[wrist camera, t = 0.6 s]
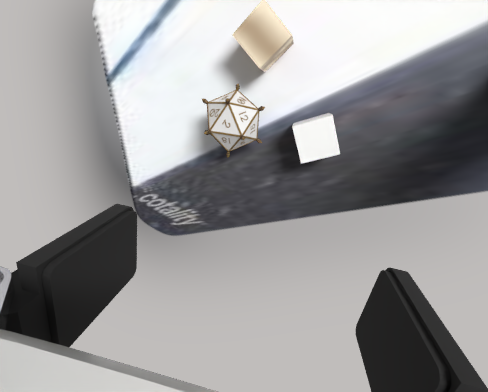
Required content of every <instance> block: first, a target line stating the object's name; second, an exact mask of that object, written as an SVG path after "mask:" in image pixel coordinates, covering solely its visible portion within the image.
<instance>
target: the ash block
mask: <svg viewBox="0 0 488 392" xmlns="http://www.w3.org/2000/svg"><path fill="white" fill-rule="evenodd" d="M233 36H234V38H235V39H236V40H237V41H238V43H239V44H240V45H241V46H242V48H243V49H244V50H245V51H246V53H247V54H248V55H249V56H250V57H251V59H252V60H253V61H254V62H255V64H256V65H257V66H258V67H259V69H261V70H262V71H264V72H266V71H267V70H268V69H269V68H270V67H271V66H272V65H273V64H274V63H275V62H276V61H277V60H278V59H279V58H280V57H281V56H282V55H283V54H284V53H285V52H286V51H287V50H288V49H289V48H290V46H291V45H292V44H293V37H292V34H291V33H290V32H289V30H288V29H287V28H286V27H285V25H284V24H283V23H282V21H281V20H280V19H279V18H278V16H277V15H276V14H275V12H274V11H273V10H272V8H271V7H270V6H269V5H268V3H267V2H266V1H265V0H262V1H261V2H260V3H259V4H258V6H257V7H256V8H255V9H254V10H253V11H252V13H251V14H250V15H249V16H248V17H247V18H246V20H245V21H244V22H243V23H242V24H241V25H240V27H239V28H238V29H237V30H236V31H235V32H234V34H233Z"/></svg>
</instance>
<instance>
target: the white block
mask: <svg viewBox="0 0 488 392" xmlns="http://www.w3.org/2000/svg"><path fill="white" fill-rule="evenodd" d="M292 128H293V132H294V136H295V140H296V144H297V149H298V153H299V157H300V161H301V164H302V163H306V162H310V161H314V160H318V159H322V158H327V157H331V156H335V155H339V154H340V151H339V146H338V140H337V135H336V130H335V125H334V120H333V115H332V114H330V113H327V114H323V115H320V116H316V117H313V118H310V119H306V120H303V121H299V122H296V123H293V126H292Z"/></svg>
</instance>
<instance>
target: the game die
mask: <svg viewBox="0 0 488 392" xmlns="http://www.w3.org/2000/svg"><path fill="white" fill-rule="evenodd" d="M239 87H240V86H239V84H237V85H236V90H235V91H233V92H230V93H228V94H226V95H223V96H221V97H219V98H216V99H214V100H212V101H210V102H208V101H207V100H206V99H202V100H203V102H204V103H206V104H207V113H208V129H209V130H207V131H205V133H204V134H206V135H208V134H211V135H212V136H213V137H214V138H215V139H216V140H217V141H218V142H219V143H220V144H221V145H222V146H223V147H224V148H225V149H226V150H227V154H226V155H227V157H229V156H230V151H232V150H235V149H237V148H239V147H241V146H244V145H246V144H248V143H251V142H253V141H255V140H256V141H257V142H258V143H262V142H261V140H260V139H258V138H257V136H258V122H259V111H262V110H263V109H264V108H265V107H262V106H261V107H259V109H258V108H257V107H256V106H255V105H254V104H253V103H252V102H250V101H249V100H248V99H247V98H246V97H245V96H244V95H243V94H242V93H241V92H239V89H240V88H239Z"/></svg>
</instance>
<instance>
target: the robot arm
mask: <svg viewBox="0 0 488 392" xmlns="http://www.w3.org/2000/svg"><path fill="white" fill-rule="evenodd" d="M136 261H137V214H136V212H134V210H133V208H132V207H129V206H125V205H120V204H115V205H114V206H112V207H110V208H108V209H107V210H105V211H103V212H102V213H100V214H98V215H96V216H95V217H93V218H91V219H90V220H88V221H86V222H85V223H83V224H81V225H79V226H78V227H76V228H74V229H73V230H71V231H69V232H67V233H66V234H64V235H62V236H61V237H59V238H57V239H56V240H54V241H52V242H50V243H49V244H47V245H45V246H44V247H42V248H40V249H38V250H37V251H35V252H33V253H32V254H30V255H28V256H27V257H25V258H23V259H21V260H20V261H18V262H16V263H17V268H18V269H17V270H16V271H14V272H12V273H11V272H10V271H9V270H8V269H7V268H4V267H0V392H217V391H214V390H210V389H207V388H204V387H201V386H197V385H194V384H191V383H187V382H184V381H181V380H177V379H174V378H171V377H167V376H164V375H161V374H157V373H154V372H151V371H147V370H144V369H140V368H137V367H133V366H130V365H127V364H124V363H120V362H116V361H113V360H110V359H107V358H103V357H99V356H96V355H93V354H89V353H86V352H83V351H79V350H76V349H72V348H69V347H70V346H71V345H72V344H73V343H74V341H75V340H76V339H77V338H78V337H79V336H80V335H81V334H82V333H83V332H84V330H85V329H86V328H87V327H88V326H89V325H90V324H91V322H93V320H94V319H95V318H96V317H97V316H98V315H99V314H100V313H101V312H102V310H103V309H104V308H105V307H106V306H107V305H108V304H109V303H110V302H111V300H112V299H113V298H114V297H115V296H116V295H117V294H118V293H119V292H120V291H121V289H122V288H123V287H124V286H125V285H126V284H127V283H128V282H129V280H130V279H131V278H132V277H133V276H134V274H135V272H136ZM356 337H357V341H358V344H359V348H360V352H361V356H362V359H363V363H364V366H365V370H366V374H367V377H368V381H369V384H370V388H371V392H488V388H487V387H486V385H485V384H484V383H483V381H482V380H481V378H480V377H479V375H478V374H477V372H476V371H475V370H474V368H473V366H472V365H471V364H470V362H469V361H468V359H467V358H466V356H465V355H464V353H463V352H462V350H461V349H460V347H459V346H458V345H457V343H456V342H455V340H454V339H453V337H452V336H451V334H450V333H449V331H448V330H447V329H446V327H445V326H444V324H443V323H442V321H441V320H440V318H439V317H438V315H437V314H436V312H435V311H434V309H433V308H432V307H431V305H430V304H429V302H428V301H427V299H426V298H425V297H424V295H423V293H422V292H421V290H420V289H419V288H418V286H417V285H416V283H415V282H414V280H413V279H412V277H411V276H410V274H409V273H408V272H406V271H402V270H398V269H393V268H387V269H386V271H384V270H382V271H381V272H380V274H379V276H378V278H377V281H376V283H375V285H374V287H373V289H372V292H371V294H370V296H369V298H368V301H367V303H366V305H365V307H364V309H363V312H362V314H361V316H360V318H359V321H358V323H357V326H356Z"/></svg>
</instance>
